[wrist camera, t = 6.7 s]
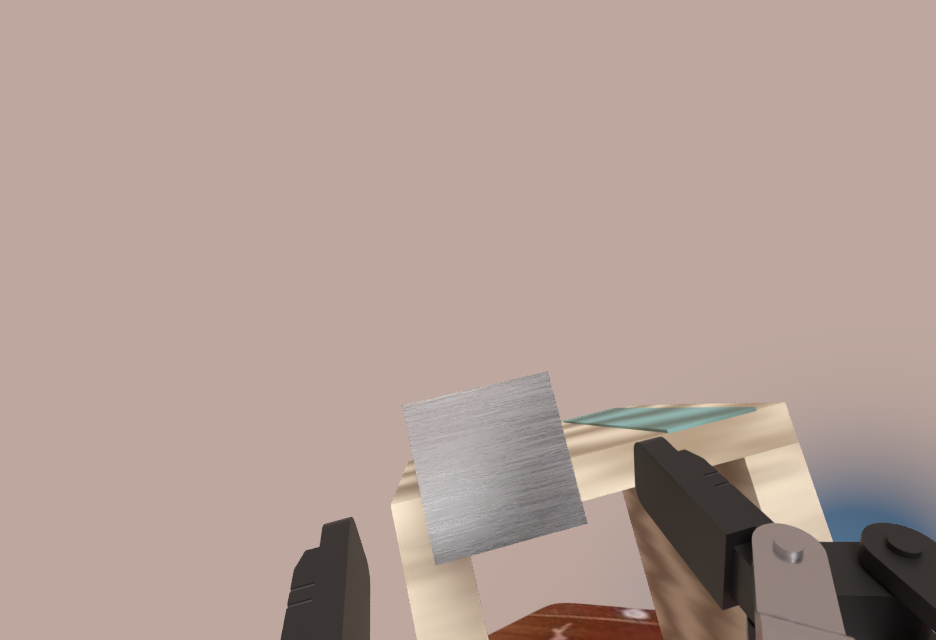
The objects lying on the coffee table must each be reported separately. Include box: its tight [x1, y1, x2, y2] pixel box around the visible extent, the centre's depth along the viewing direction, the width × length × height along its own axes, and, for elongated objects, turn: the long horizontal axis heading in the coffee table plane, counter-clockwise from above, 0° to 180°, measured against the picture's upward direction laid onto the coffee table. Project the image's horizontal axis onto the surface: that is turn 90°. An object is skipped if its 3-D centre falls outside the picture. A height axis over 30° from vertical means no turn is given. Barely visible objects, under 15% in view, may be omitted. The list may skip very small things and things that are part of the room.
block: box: [402, 372, 587, 566], centre depth 25 cm, size 26×6×4 cm, turn 5°
